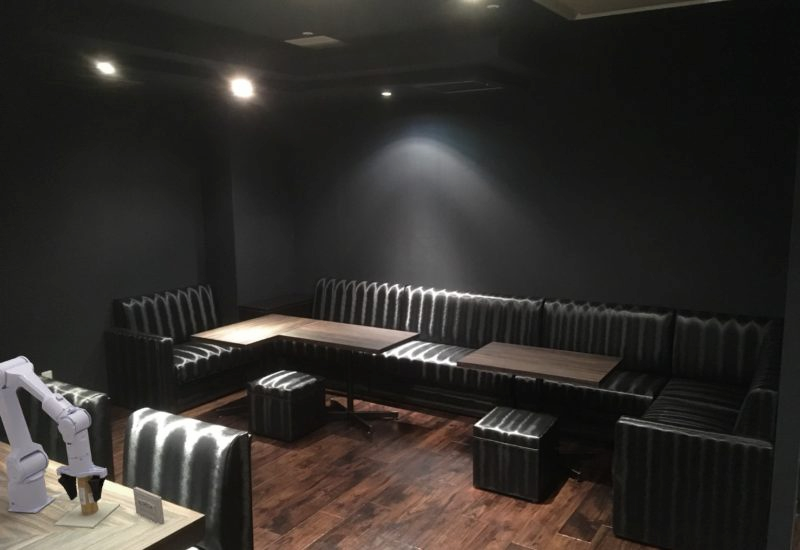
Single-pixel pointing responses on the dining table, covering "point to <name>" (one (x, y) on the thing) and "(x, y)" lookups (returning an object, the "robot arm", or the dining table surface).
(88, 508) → the sprinkles bottle
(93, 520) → the sage mat
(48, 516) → the dining table surface
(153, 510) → the cassette
